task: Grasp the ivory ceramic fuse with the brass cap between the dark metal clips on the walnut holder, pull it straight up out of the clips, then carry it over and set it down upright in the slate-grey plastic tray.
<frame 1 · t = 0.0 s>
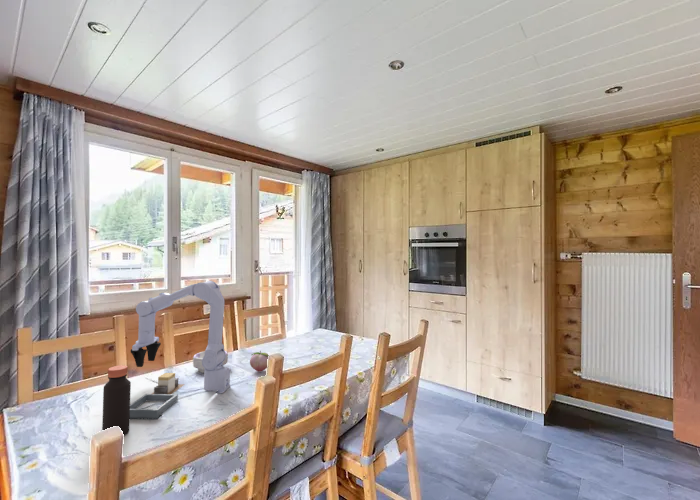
hand: (145, 363, 135), 10 cm above the table, fingers open, 7 cm apart
fuse: (166, 390, 131), point 1 cm above the table, touching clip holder
decorative fruit: (260, 372, 157), on the table
tray: (151, 410, 116), on the table
white bowl: (210, 370, 158), on the table
bottle: (115, 435, 100), on the table
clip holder: (166, 392, 131), on the table
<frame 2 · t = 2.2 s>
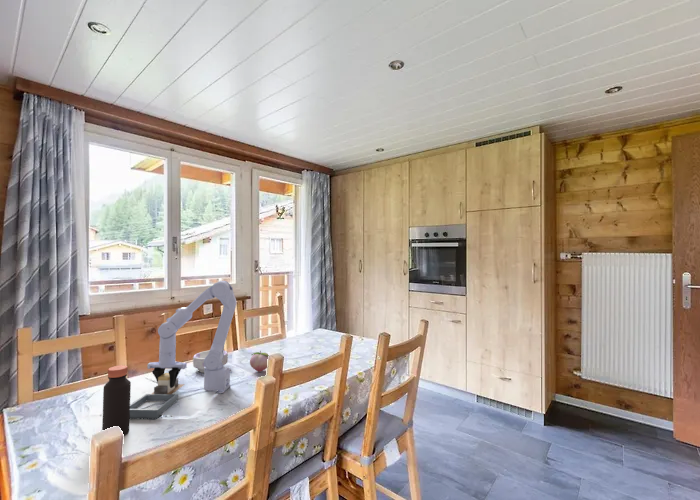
hand: (166, 386, 131), 2 cm above the table, fingers closed on fuse, 4 cm apart
fuse: (166, 390, 131), point 1 cm above the table, touching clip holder, gripper
everything else where it was.
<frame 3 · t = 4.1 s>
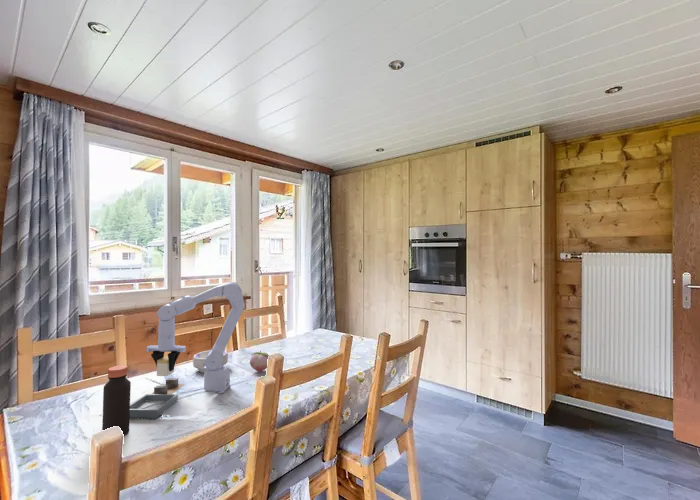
hand: (165, 370, 130), 9 cm above the table, fingers closed on fuse, 4 cm apart
fuse: (165, 373, 130), point 8 cm above the table, touching gripper
everything else where it was.
when the fingers open (3 cm above the table, at t = 6.4 s): fuse drops 1 cm, resting on tray.
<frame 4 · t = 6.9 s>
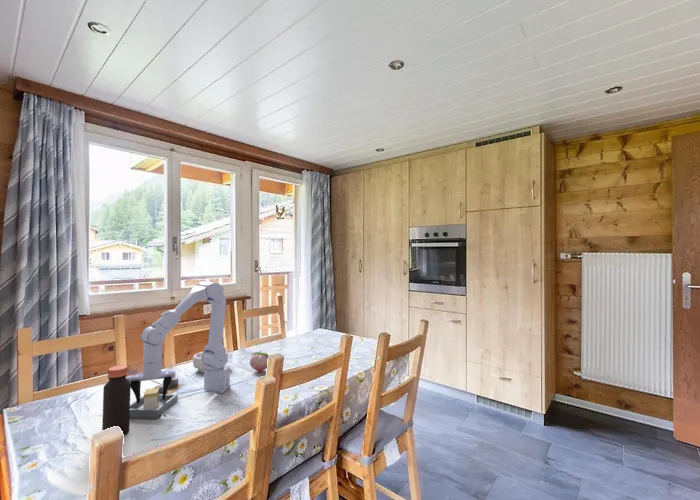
hand: (151, 400, 116), 3 cm above the table, fingers open, 7 cm apart
fuse: (151, 408, 116), point 1 cm above the table, touching tray
everything else where it was.
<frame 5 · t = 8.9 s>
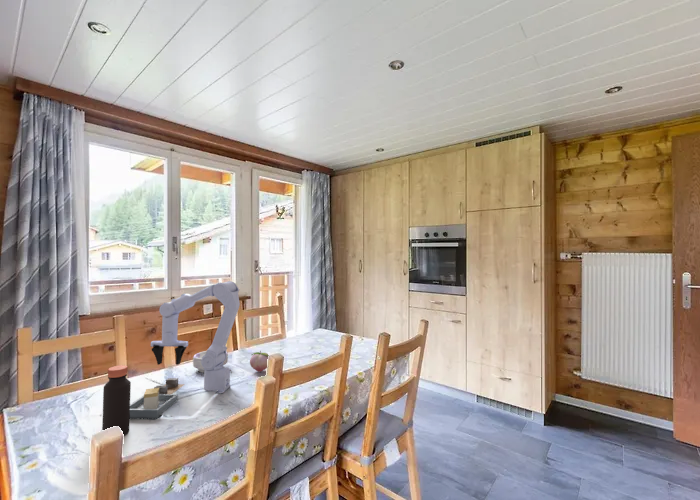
hand: (168, 364, 137), 9 cm above the table, fingers open, 7 cm apart
nothing on the table moved.
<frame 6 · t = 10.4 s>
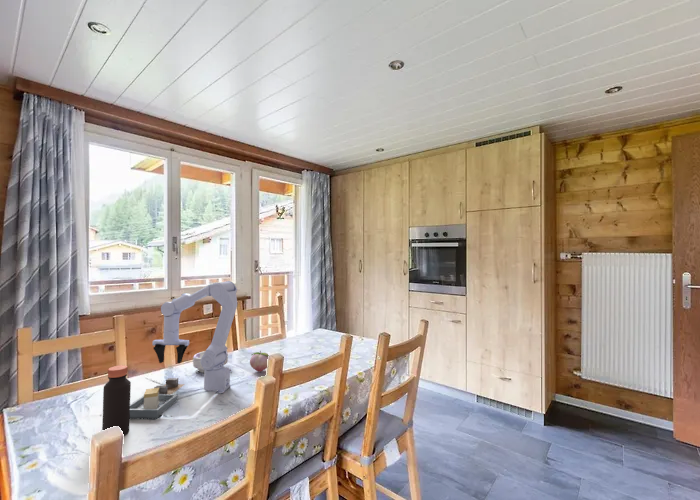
hand: (170, 362, 139), 9 cm above the table, fingers open, 7 cm apart
nothing on the table moved.
at the end: fuse inside the target area on the tray (0.3 cm from its centre), point 0.6 cm above the tray's base; fuse tilted 0°; the gripper is holding nothing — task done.
